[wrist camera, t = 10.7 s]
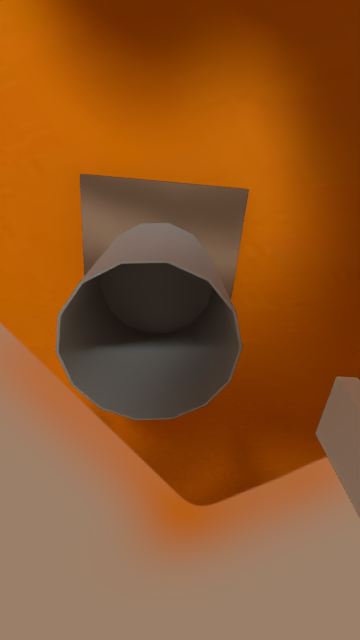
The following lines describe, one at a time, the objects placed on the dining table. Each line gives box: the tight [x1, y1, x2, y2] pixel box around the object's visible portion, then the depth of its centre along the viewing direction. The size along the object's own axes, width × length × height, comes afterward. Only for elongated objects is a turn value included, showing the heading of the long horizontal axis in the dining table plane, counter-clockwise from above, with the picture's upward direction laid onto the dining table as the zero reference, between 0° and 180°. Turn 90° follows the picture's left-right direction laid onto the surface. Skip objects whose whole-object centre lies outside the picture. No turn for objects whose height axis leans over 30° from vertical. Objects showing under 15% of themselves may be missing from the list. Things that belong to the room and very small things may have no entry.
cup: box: [56, 223, 242, 420], centre depth 19 cm, size 8×8×10 cm
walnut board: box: [80, 174, 249, 300], centre depth 24 cm, size 14×11×1 cm
